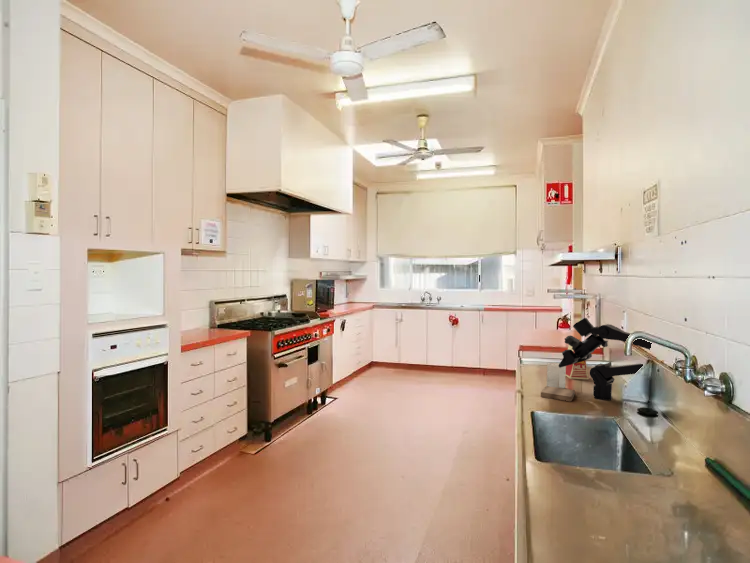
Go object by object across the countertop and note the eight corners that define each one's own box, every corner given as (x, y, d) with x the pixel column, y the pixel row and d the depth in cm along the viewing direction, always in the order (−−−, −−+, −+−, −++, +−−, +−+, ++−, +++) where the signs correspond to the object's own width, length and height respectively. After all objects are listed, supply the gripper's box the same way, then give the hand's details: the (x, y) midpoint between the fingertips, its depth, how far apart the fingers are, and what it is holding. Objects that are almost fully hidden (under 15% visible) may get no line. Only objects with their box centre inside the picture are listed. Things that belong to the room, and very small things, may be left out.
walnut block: (574, 394, 194) (574, 390, 194) (570, 401, 184) (571, 396, 184) (545, 390, 201) (545, 385, 200) (540, 396, 190) (540, 391, 190)
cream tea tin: (565, 388, 206) (565, 364, 205) (559, 390, 202) (559, 366, 201) (552, 385, 210) (553, 362, 210) (546, 387, 206) (547, 363, 206)
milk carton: (588, 379, 223) (590, 340, 223) (570, 378, 224) (571, 339, 223) (580, 375, 233) (582, 337, 232) (562, 374, 233) (564, 336, 232)
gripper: (585, 329, 205) (561, 349, 213) (567, 332, 192) (542, 353, 201) (602, 348, 199) (577, 368, 208) (585, 353, 187) (558, 373, 195)
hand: (563, 365), depth 203 cm, fingers open, 9 cm apart
